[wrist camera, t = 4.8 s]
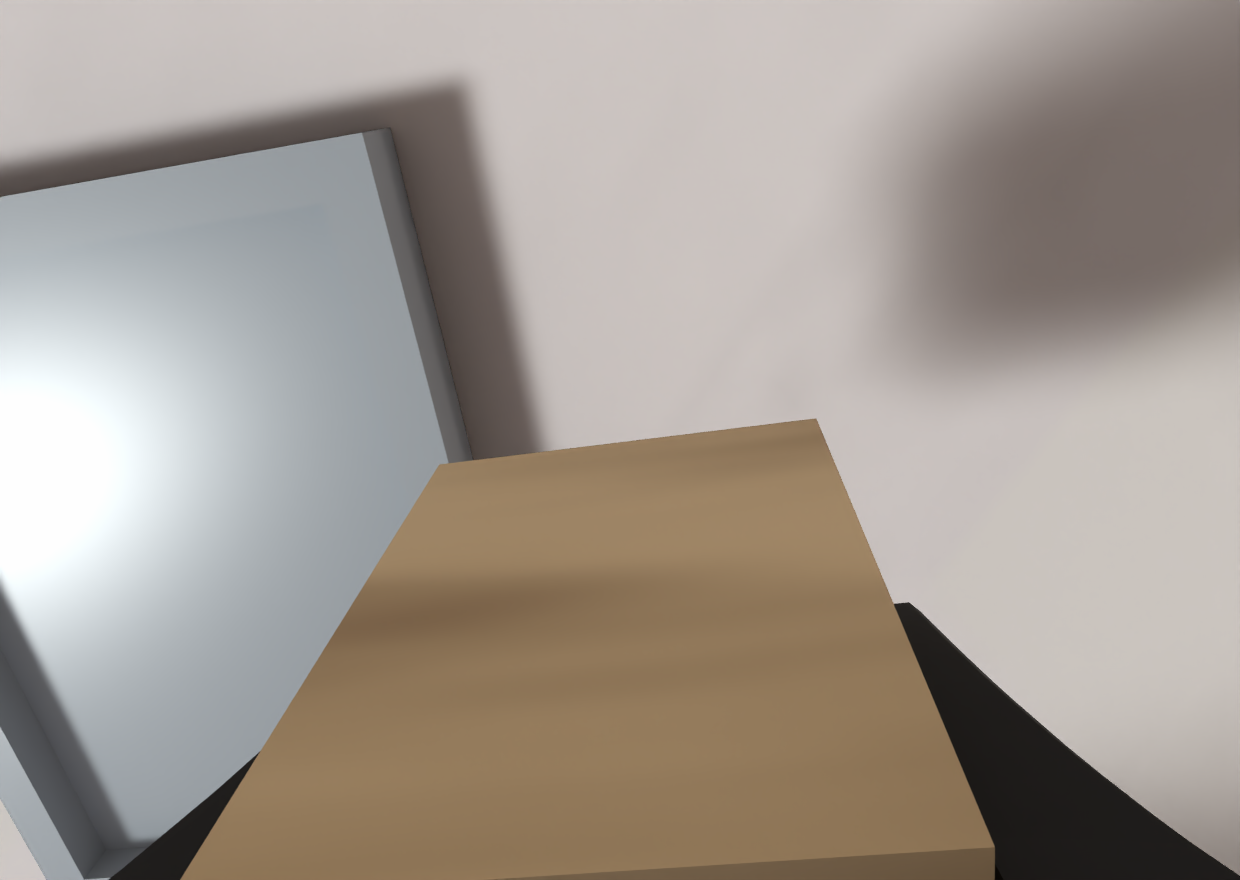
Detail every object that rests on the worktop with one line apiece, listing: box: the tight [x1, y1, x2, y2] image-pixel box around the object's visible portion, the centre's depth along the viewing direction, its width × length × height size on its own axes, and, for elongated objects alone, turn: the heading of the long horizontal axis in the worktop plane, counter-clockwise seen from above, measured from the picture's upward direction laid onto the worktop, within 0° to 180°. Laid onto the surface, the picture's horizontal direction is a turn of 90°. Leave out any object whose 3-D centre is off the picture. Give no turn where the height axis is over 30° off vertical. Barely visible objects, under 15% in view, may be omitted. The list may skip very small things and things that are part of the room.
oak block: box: [180, 419, 995, 880], centre depth 8 cm, size 4×4×6 cm
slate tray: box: [0, 128, 473, 880], centre depth 19 cm, size 17×13×2 cm
